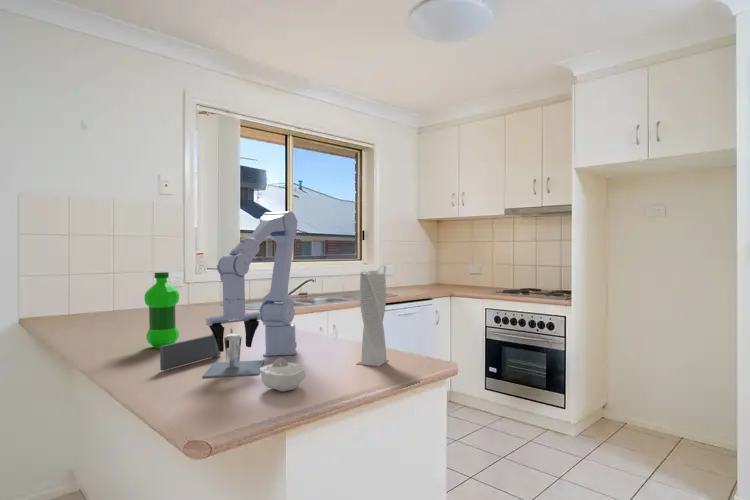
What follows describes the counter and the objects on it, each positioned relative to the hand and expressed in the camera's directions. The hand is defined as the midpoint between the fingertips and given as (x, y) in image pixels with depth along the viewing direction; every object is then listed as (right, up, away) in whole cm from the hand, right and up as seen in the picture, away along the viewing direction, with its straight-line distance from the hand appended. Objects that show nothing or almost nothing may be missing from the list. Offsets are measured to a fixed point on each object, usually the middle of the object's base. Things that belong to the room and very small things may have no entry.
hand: (235, 348), depth 125 cm
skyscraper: (+38, -5, +4) cm, 38 cm away
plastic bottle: (-33, -6, +30) cm, 45 cm away
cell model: (+17, -6, -18) cm, 25 cm away
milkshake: (-1, -5, +1) cm, 5 cm away
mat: (0, -6, 0) cm, 6 cm away
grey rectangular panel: (-14, -5, +7) cm, 17 cm away
